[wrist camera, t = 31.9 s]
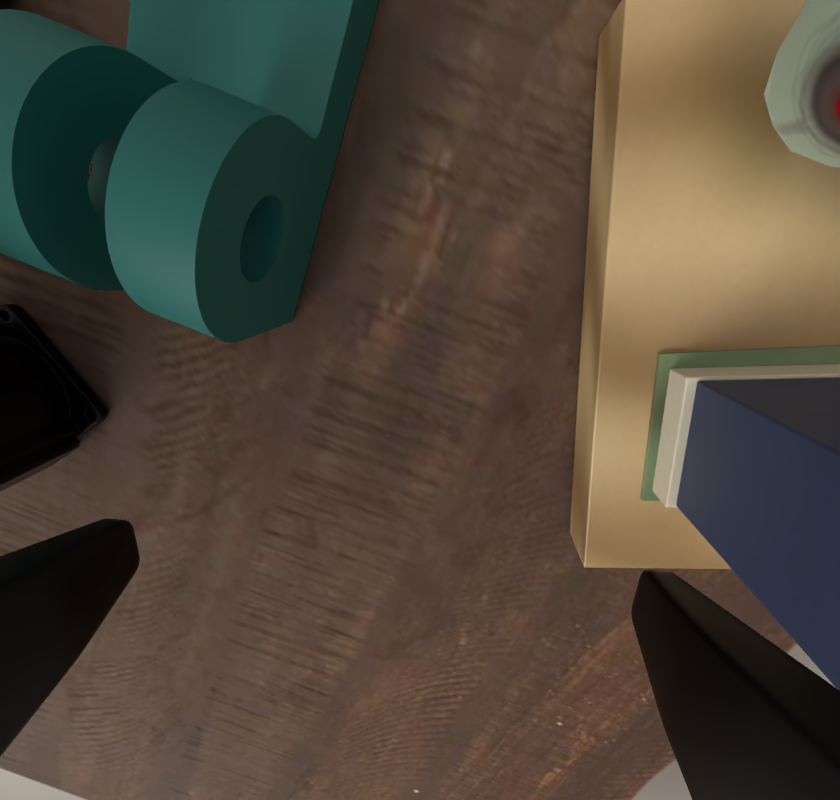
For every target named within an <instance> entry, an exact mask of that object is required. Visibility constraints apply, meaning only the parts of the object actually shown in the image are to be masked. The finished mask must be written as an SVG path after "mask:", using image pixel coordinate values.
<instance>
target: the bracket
mask: <svg viewBox="0 0 840 800" xmlns="http://www.w3.org/2000/svg"><path fill="white" fill-rule="evenodd" d="M378 2H379V0H131V5H130V15H129V25H128V34H127V44H126V50H123V49H121V48H119V47H116V46H114V45H111V44H109V43H107V42H104V41H102V40H99V39H97V38H95V37H92V36H90V35H87V34H85V33H83V32H80V31H78V30H75V29H73V28H71V27H68V26H66V25H63V24H61V23H59V22H56V21H54V20H51V19H49V18H46V17H44V16H41V15H38V14H35V13H31V12H27V11H23V10H14V9H0V253H1V254H3V255H6V256H8V257H11V258H13V259H16V260H18V261H21V262H23V263H26V264H28V265H31V266H34V267H36V268H39V269H41V270H44V271H46V272H49V273H51V274H54V275H56V276H59V277H61V278H64V279H67V280H69V281H72V282H74V283H77V284H79V285H82V286H84V287H88V288H92V289H96V290H122V289H124V290H125V291H126V293H127V294H128V295H129V296H130V297H131V299H132V300H133V301H134V302H135V303H136V304H138V305H139V306H140V307H141V308H143V309H145V310H146V311H148V312H150V313H153V314H155V315H158V316H161V317H163V318H166V319H168V320H171V321H173V322H176V323H178V324H181V325H183V326H186V327H188V328H191V329H194V330H196V331H199V332H201V333H204V334H206V335H209V336H211V337H214V338H216V339H219V340H222V341H224V342H237V341H241V340H243V339H246V338H249V337H252V336H254V335H257V334H260V333H262V332H265V331H268V330H271V329H273V328H276V327H279V326H281V325H284V324H287V323H289V322H292V321H293V317H294V313H295V310H296V306H297V302H298V299H299V295H300V291H301V288H302V284H303V280H304V276H305V273H306V269H307V265H308V262H309V258H310V254H311V251H312V247H313V243H314V239H315V236H316V232H317V228H318V225H319V221H320V217H321V213H322V210H323V206H324V202H325V199H326V195H327V191H328V188H329V184H330V180H331V176H332V173H333V169H334V165H335V162H336V158H337V154H338V151H339V147H340V143H341V139H342V136H343V132H344V128H345V125H346V121H347V117H348V114H349V110H350V106H351V102H352V99H353V95H354V91H355V88H356V84H357V80H358V77H359V73H360V69H361V65H362V62H363V58H364V54H365V51H366V47H367V43H368V39H369V36H370V32H371V28H372V25H373V21H374V17H375V14H376V10H377V6H378ZM92 158H93V164H92V172H91V175H90V178H89V181H88V183H87V177H88V169H89V165H90V161H91V159H92Z"/></svg>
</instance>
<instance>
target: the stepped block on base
mask: <svg viewBox="0 0 840 800" xmlns="http://www.w3.org/2000/svg"><path fill="white" fill-rule="evenodd" d="M652 491H653V492H654V493H655V495H656V496H657V497H658V498H659V499H660V501H661V502H662V503H663V504H664V505H665V507H678V508H679V510H680V511H681V512H682V513H683V514H684V515H685V516H686V518H687V519H688V520H689V521H690V522H691V523H692V524H693V525H694V527H695V528H696V529H697V530H698V531H699V532H700V533H701V535H702V536H703V537H704V538H705V539H706V540H707V541H708V543H709V544H710V545H711V546H712V547H713V548H714V549H715V551H716V552H717V553H718V554H719V555H720V556H721V557H722V558H723V560H724V561H725V562H726V563H727V564H728V565H729V566H730V568H731V569H732V570H733V571H734V572H735V573H736V574H737V576H738V577H739V578H740V579H741V580H742V581H743V582H744V584H745V585H746V586H747V587H748V588H749V589H750V590H751V591H752V593H753V594H754V595H755V596H756V597H757V598H758V599H759V601H760V602H761V603H762V604H763V605H764V606H765V607H766V609H767V610H768V611H769V612H770V613H771V614H772V615H773V617H774V618H775V619H776V620H777V621H778V622H779V623H780V624H781V626H782V627H783V628H784V629H785V630H786V631H787V632H788V634H789V635H790V636H791V637H792V638H793V639H794V640H795V642H796V643H797V644H798V645H799V646H800V647H801V648H802V650H803V651H804V652H805V653H806V654H807V655H808V656H809V657H810V659H811V660H812V661H813V662H814V663H815V664H816V665H817V667H818V668H819V669H820V670H821V671H822V672H823V673H824V675H825V676H826V677H827V678H828V679H829V680H830V681H831V682H832V684H833V685H834V686H835V687H836V688H837V689H838V690H839V691H840V364H823V365H785V366H748V367H710V368H673V369H670V373H669V380H668V386H667V393H666V400H665V407H664V414H663V420H662V427H661V434H660V441H659V447H658V454H657V461H656V468H655V475H654V481H653V488H652Z"/></svg>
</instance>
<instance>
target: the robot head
mask: <svg viewBox="0 0 840 800" xmlns="http://www.w3.org/2000/svg"><path fill="white" fill-rule="evenodd" d="M764 97H765V100H766V104H767V108H768V111H769V115H770V118H771V122H772V126H773V127H774V129H775V130H776V131H777V133H778V134H779V136H780V137H781V138H782V140H783V141H784V143H785V144H786V145H787V147H788V148H789V150H790V151H792V152H794V153H797V154H799V155H802V156H804V157H807V158H810V159H812V160H815V161H817V162H820V163H822V164H825V165H828V166H832V167H839V168H840V0H806V1H805V3H804V5H803V7H802V9H801V11H800V13H799V15H798V16H797V18H796V20H795V22H794V24H793V26H792V28H791V29H790V31H789V33H788V34H787V36H786V38H785V40H784V41H783V43H782V45H781V46H780V48H779V50H778V52H777V54H776V57H775V61H774V64H773V67H772V70H771V73H770V76H769V79H768V83H767V86H766V89H765V92H764Z"/></svg>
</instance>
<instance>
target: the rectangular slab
mask: <svg viewBox="0 0 840 800" xmlns="http://www.w3.org/2000/svg"><path fill="white" fill-rule="evenodd" d="M805 1H806V0H621V2H620V3H619V5H618V7H617V8H616V10H615V11H614V13H613V15H612V16H611V18H610V19H609V21H608V23H607V24H606V26H605V27H604V29H603V31H602V32H601V34H600V36H599V44H598V61H597V78H596V95H595V112H594V129H593V146H592V163H591V180H590V197H589V214H588V231H587V248H586V265H585V282H584V299H583V316H582V333H581V350H580V367H579V384H578V401H577V418H576V435H575V452H574V469H573V486H572V503H571V520H570V534H571V536H572V539H573V541H574V544H575V546H576V549H577V551H578V554H579V556H580V558H581V561H582V563H583V566H584V567H596V568H691V569H731V568H730V566H729V565H728V564H727V563H726V562H725V561H724V560H723V558H722V557H721V556H720V555H719V554H718V553H717V552H716V551H715V549H714V548H713V547H712V546H711V545H710V544H709V543H708V541H707V540H706V539H705V538H704V537H703V536H702V535H701V533H700V532H699V531H698V530H697V529H696V528H695V527H694V525H693V524H692V523H691V522H690V521H689V520H688V519H687V518H686V516H685V515H684V514H683V513H682V512H681V511H680V510H679V508H678V507H665V505H664V504H663V503H662V502H661V501H660V499H659V498H658V497H657V496H656V495H655V493H654V492H653V491H652V488H653V481H654V475H655V468H656V461H657V454H658V447H659V441H660V434H661V427H662V420H663V414H664V407H665V400H666V393H667V386H668V380H669V373H670V369H673V368H710V367H748V366H785V365H823V364H840V168H839V167H832V166H828V165H825V164H822V163H820V162H817V161H815V160H812V159H810V158H807V157H804V156H802V155H799V154H797V153H794V152H792V151H790V150H789V148H788V147H787V145H786V144H785V143H784V141H783V140H782V138H781V137H780V136H779V134H778V133H777V131H776V130H775V129H774V127H773V126H772V122H771V118H770V115H769V111H768V108H767V104H766V100H765V97H764V92H765V89H766V86H767V83H768V79H769V76H770V73H771V70H772V67H773V64H774V61H775V57H776V54H777V52H778V50H779V48H780V46H781V45H782V43H783V41H784V40H785V38H786V36H787V34H788V33H789V31H790V29H791V28H792V26H793V24H794V22H795V20H796V18H797V16H798V15H799V13H800V11H801V9H802V7H803V5H804V3H805Z"/></svg>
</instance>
